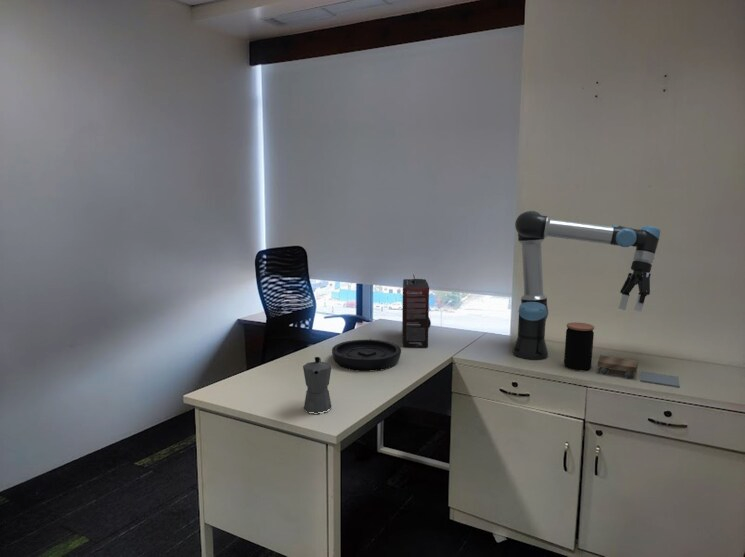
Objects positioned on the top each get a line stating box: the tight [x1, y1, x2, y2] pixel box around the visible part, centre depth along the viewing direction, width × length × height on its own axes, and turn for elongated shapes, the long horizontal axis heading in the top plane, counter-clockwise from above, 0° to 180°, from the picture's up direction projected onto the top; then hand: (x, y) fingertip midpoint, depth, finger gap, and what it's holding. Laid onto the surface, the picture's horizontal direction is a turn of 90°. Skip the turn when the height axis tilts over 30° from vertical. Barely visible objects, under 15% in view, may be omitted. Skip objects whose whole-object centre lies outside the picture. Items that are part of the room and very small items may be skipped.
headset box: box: [401, 274, 430, 348], centre depth 243 cm, size 25×12×33 cm, turn 178°
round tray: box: [331, 339, 402, 372], centre depth 214 cm, size 30×6×30 cm
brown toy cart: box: [597, 354, 638, 380], centre depth 200 cm, size 14×10×5 cm
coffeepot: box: [302, 356, 333, 413], centre depth 164 cm, size 15×9×18 cm, turn 3°
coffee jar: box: [563, 322, 595, 371], centre depth 206 cm, size 11×11×18 cm
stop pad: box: [639, 370, 680, 389], centre depth 193 cm, size 13×12×1 cm
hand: (629, 310), depth 211 cm, fingers open, 13 cm apart
